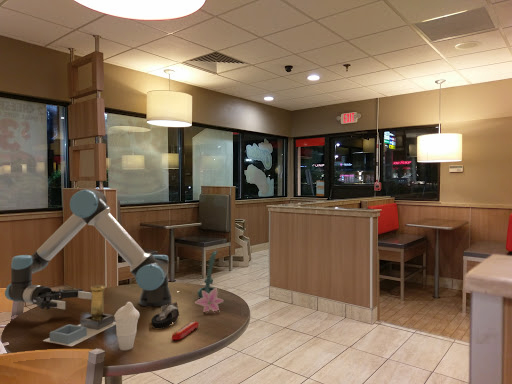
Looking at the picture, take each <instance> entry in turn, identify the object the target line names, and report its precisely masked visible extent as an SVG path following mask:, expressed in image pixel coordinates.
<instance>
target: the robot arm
mask: <svg viewBox="0 0 512 384" xmlns="http://www.w3.org/2000/svg"><path fill="white" fill-rule="evenodd" d="M69 209H70V211H71V213H72V214H71V215H70V217H68V218H67V219H66V220H65V221H64V223H62V224H61V226H60V227H58V228H57V229H56V230H55V232H53V233H52V234H51V236H49V237H48V238H47V240H45V241H44V242H43V244H41V246H40V247H39V248H38V249H37V250H36V251H34V253H33V254H32V255H28V254H21V255H15V256H13V257H12V258H11V265H10V268H11V269H10V273H11V274H10V275H11V276H10V277H11V278H10V283H9V284H8V285H7V286H6V288H5V291H4V296H5V299H7V300H9V301H14V302H18V303H19V302H20V303H25V304H26V303H27V304H32V306H33V305H36V306H37V307H38V308H40V309H42V310H44V309H45V307H46V310H47V311H48V310H50V309H51V308H53V309H60V310H66V301H64V300H63V299H67V298H68V299H69V298H77V299H84V300H92V292H89V291H84V289H82V288H78V289H58V290H53V289H52V288H51V287H50V286H46V285H38V284H33V283H32V281H33V274H35V273H38V272H40V271H44V269H45V268H47V266H48V265H49V262H51V260H52V259H53V258H54V257H56V255H57V254H58V253H59V252H60V251H61V250H63V248H64V247H65V246H66V245H68V243H69V242H70V241H71V240H72V239H73V238H74V237H75V236H76V235H77V234H78V233H79V232H80V231H81V230H82V229H83V228H84V227H85V226H86V225H88V226H93V227H94V228H95V229H96V230H97V231H98V232H99V233H100V235H101V236H102V237H103V238H104V239H105V240H106V241H107V242H108V243H109V244H110V246H111V247H112V248H113V249H114V250H115V251H116V253H118V254H119V256H120V257H121V258H122V259H123V261H125V262H126V263H127V264H128V265H129V272H130V273H131V275H132V276H133V277H134V279H135V281H136V284H137V286H138V287H139V288H141V289H142V290H141V292H140V296H139V298H138V299H139V300H138V303H139V305H140V306H143V307H154V308H155V307H161V306H164V305H166V304H167V305H168V304H171V303H172V294H171V290H170V287H169V262H170V260H169V256H168V255H166V254H152V253H149V252H148V253H147V252H145V251H144V249H143V248H142V247H141V246H140V244H138V242H136V241H135V239H134V238H133V237H132V236H131V235H130V233H128V231H127V230H125V228H124V227H123V226H122V225H121V224H120V222H119V221H117V219H116V218H115V217H114V216H113V215H112V214H111V206H109V205H108V199H107V197H106V195H105V194H104V193H103V192H102V191H101V190H98V189H82V190H79V191H77V192H75V193H74V194H73V195H72V196H71V198H70V199H69ZM170 302H171V303H170Z"/></svg>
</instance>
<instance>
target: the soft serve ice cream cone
mask: <svg viewBox="0 0 512 384" xmlns="http://www.w3.org/2000/svg"><path fill="white" fill-rule="evenodd" d="M140 315H141V314H140V312H139V310H137V309H136V308H135V306H134V305H133V302H131V301H127V302H126V303H125V305H123V306H121V307H120V308H118V310H117V311H116V312H115V314H113V318H114V322H116V325H115V327H116V328H115V329H116V332H115V334H116V337H117V341H118V347H119V350H120V351H129V350H132V349H133V348H134V343H135V338H136V335H137V326H138V320H139V318H140Z"/></svg>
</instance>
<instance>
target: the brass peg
mask: <svg viewBox="0 0 512 384" xmlns="http://www.w3.org/2000/svg"><path fill="white" fill-rule="evenodd" d="M105 289H106V286H105V285H103V284H95V285H93V286H90V291H91V293H92V299H91V306H90V307H91V308H90V309H91V311H90V313H91V314H90V315H91V320H97V321H98V320H100V319H103V314H104V301H105V299H104V297H105V296H104V295H105Z"/></svg>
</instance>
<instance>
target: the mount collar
mask: <svg viewBox="0 0 512 384" xmlns="http://www.w3.org/2000/svg"><path fill="white" fill-rule="evenodd" d="M113 322H114V314H109V313H103V319H100V320H98V321H97V320H91V314H90V315H87V316H85V317H83V318H80V324H81V326H83V327H87V328H90V329H96V330H99V329H101V328H103V327H105V326H107V325H109V324H111V323H113Z"/></svg>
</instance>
